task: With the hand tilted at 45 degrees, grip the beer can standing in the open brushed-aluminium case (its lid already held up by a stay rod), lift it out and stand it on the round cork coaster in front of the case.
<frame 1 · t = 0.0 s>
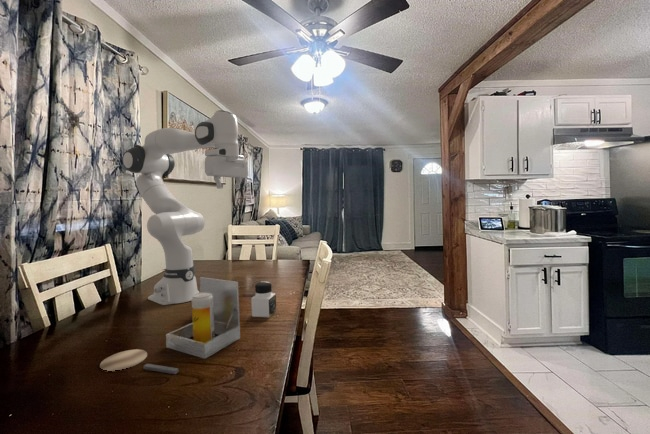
hand: (228, 188, 123), 48 cm above the table, tool pointing down, fingers open, 8 cm apart
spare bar: (161, 371, 81), on the table
case: (204, 342, 96), on the table
pad: (124, 360, 86), on the table
medicine bottle: (264, 314, 119), on the table
beer can: (204, 343, 96), resting in case
mug: (213, 315, 119), on the table
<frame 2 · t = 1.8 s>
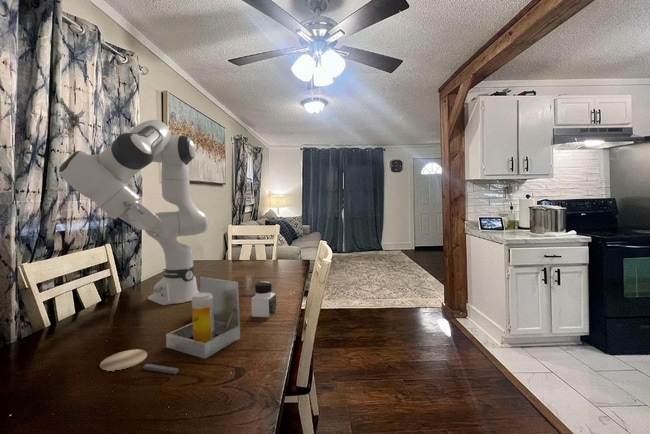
hand: (162, 236, 93), 33 cm above the table, tool tilted 45°, fingers open, 8 cm apart
nothing on the table moved.
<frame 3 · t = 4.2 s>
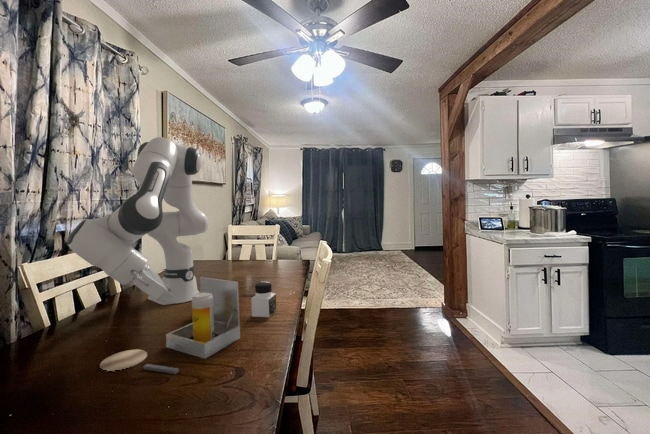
hand: (172, 296, 91), 16 cm above the table, tool tilted 45°, fingers open, 8 cm apart
nothing on the table moved.
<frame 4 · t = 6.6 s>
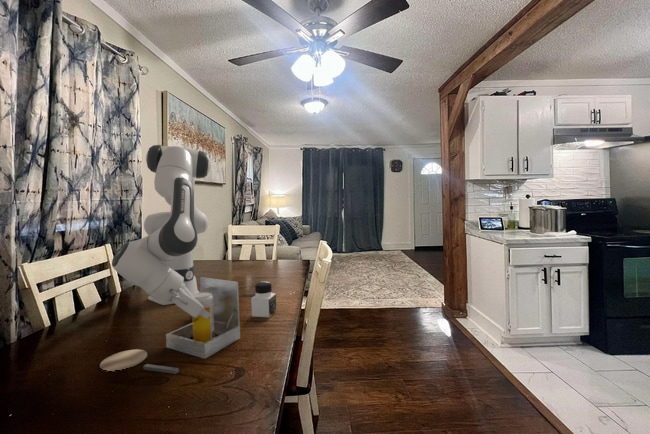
hand: (205, 312, 96), 9 cm above the table, tool tilted 45°, fingers closed on beer can, 6 cm apart
beer can: (204, 343, 96), resting in case, touching gripper
everything else where it was.
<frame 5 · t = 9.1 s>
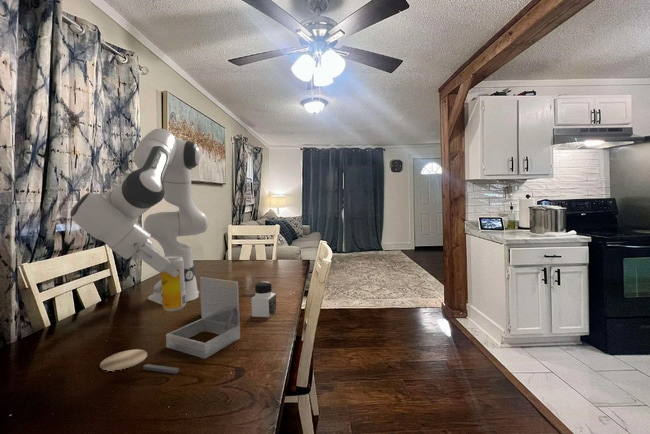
hand: (174, 272, 91), 23 cm above the table, tool tilted 45°, fingers closed on beer can, 6 cm apart
beer can: (174, 308, 92), point 12 cm above the table, touching gripper
everything else where it was.
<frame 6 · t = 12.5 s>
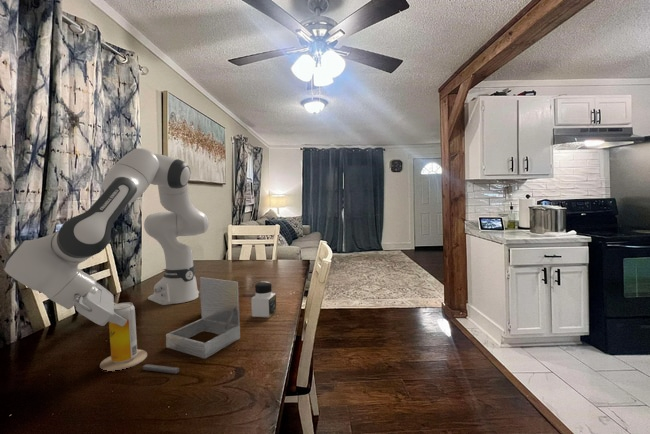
hand: (124, 318, 86), 12 cm above the table, tool tilted 45°, fingers closed on beer can, 6 cm apart
beer can: (124, 359, 86), resting on pad, touching gripper
everything else where it was.
when the fingers open (12 cm above the table, at t = 12.5 s): beer can stays where it is, resting on pad.
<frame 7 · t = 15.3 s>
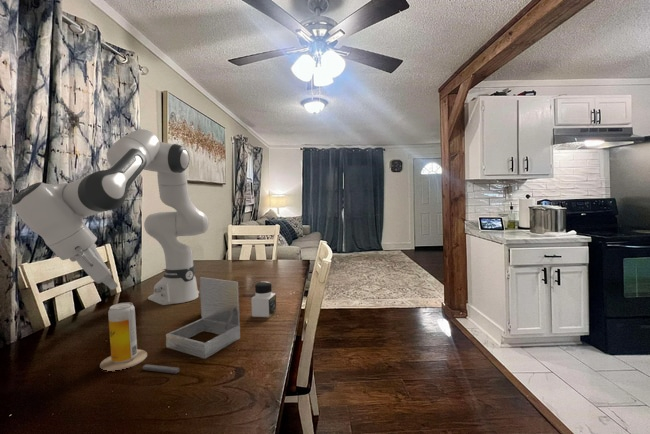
hand: (111, 282, 86), 22 cm above the table, tool tilted 30°, fingers open, 8 cm apart
beer can: (124, 359, 86), resting on pad
everything else where it was.
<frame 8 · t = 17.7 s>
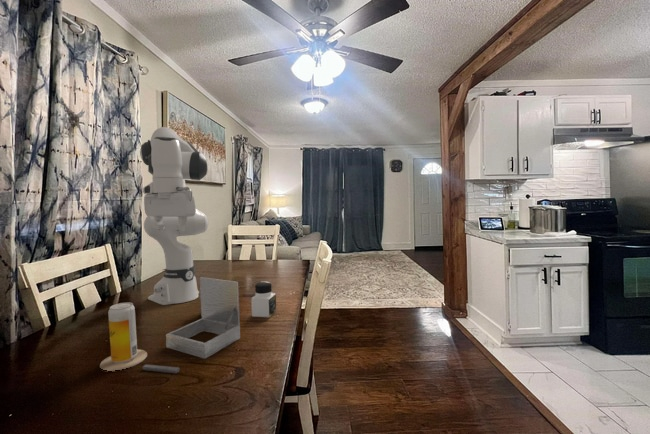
hand: (170, 230, 101), 34 cm above the table, tool pointing down, fingers open, 8 cm apart
nothing on the table moved.
at the end: beer can 0.1 cm from the pad (horizontally); beer can tilted 0°; beer can resting on pad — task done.
